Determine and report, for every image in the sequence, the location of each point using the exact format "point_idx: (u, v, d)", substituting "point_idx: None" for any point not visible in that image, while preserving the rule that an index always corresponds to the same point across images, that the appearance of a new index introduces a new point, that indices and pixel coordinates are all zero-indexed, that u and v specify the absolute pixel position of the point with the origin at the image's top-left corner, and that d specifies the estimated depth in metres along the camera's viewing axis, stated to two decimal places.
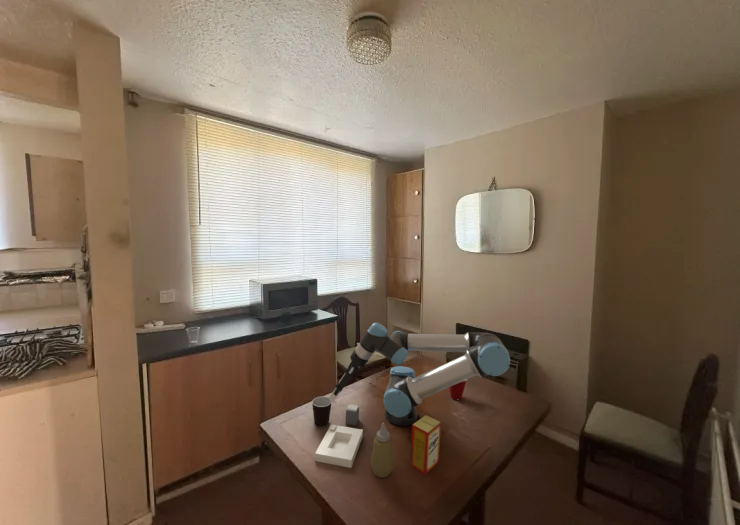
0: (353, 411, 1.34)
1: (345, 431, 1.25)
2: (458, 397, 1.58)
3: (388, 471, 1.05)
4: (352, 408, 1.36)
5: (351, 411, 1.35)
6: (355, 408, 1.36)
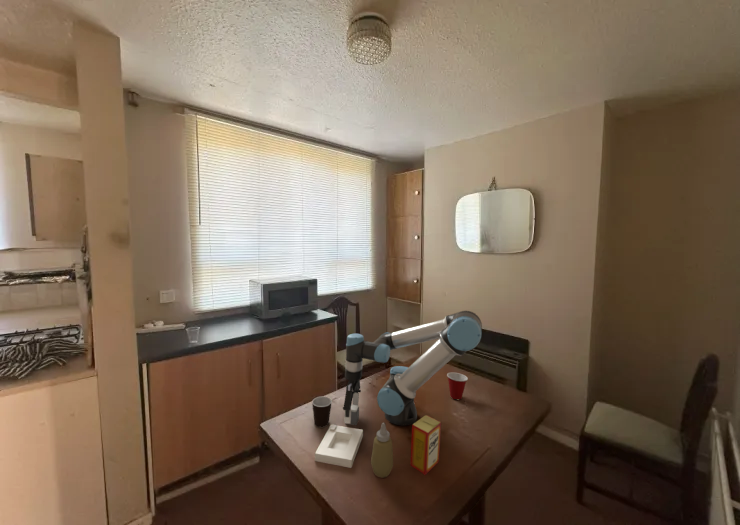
0: (353, 411, 1.34)
1: (345, 431, 1.25)
2: (458, 397, 1.58)
3: (388, 471, 1.05)
4: (352, 408, 1.36)
5: (351, 411, 1.35)
6: (355, 408, 1.36)
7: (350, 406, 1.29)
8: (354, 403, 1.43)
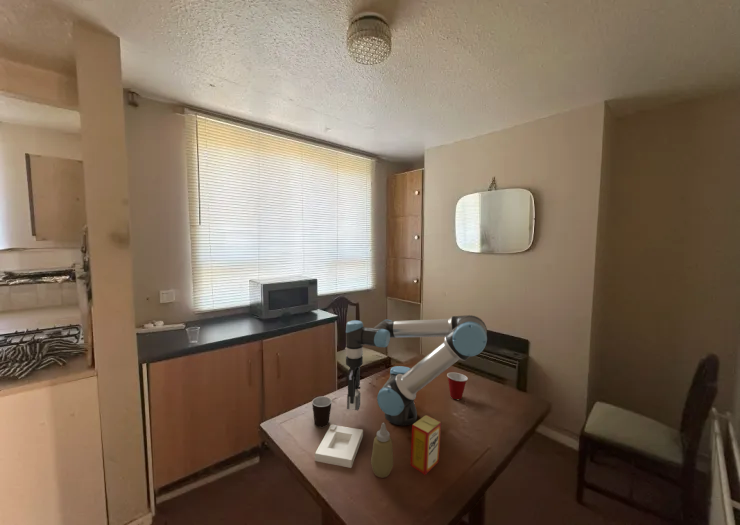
0: None
1: (345, 431, 1.25)
2: (458, 397, 1.58)
3: (388, 471, 1.05)
4: None
5: None
6: (356, 393, 1.35)
7: (354, 393, 1.32)
8: None
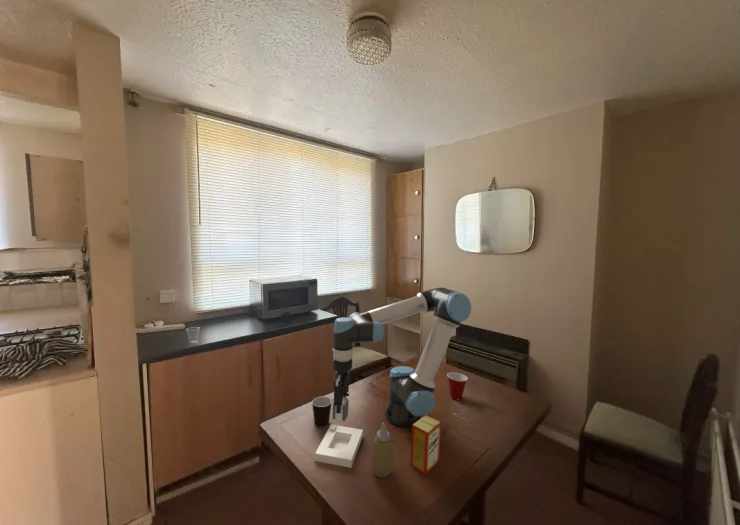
0: None
1: (345, 431, 1.25)
2: (458, 397, 1.58)
3: (388, 471, 1.05)
4: None
5: None
6: (344, 401, 1.17)
7: (341, 401, 1.14)
8: None
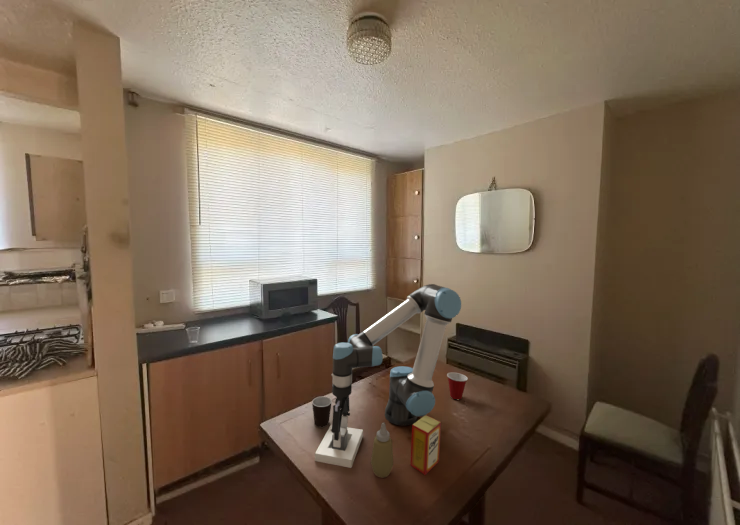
0: (341, 436, 1.17)
1: None
2: (458, 397, 1.58)
3: (388, 471, 1.05)
4: None
5: None
6: (343, 432, 1.18)
7: (339, 428, 1.13)
8: None
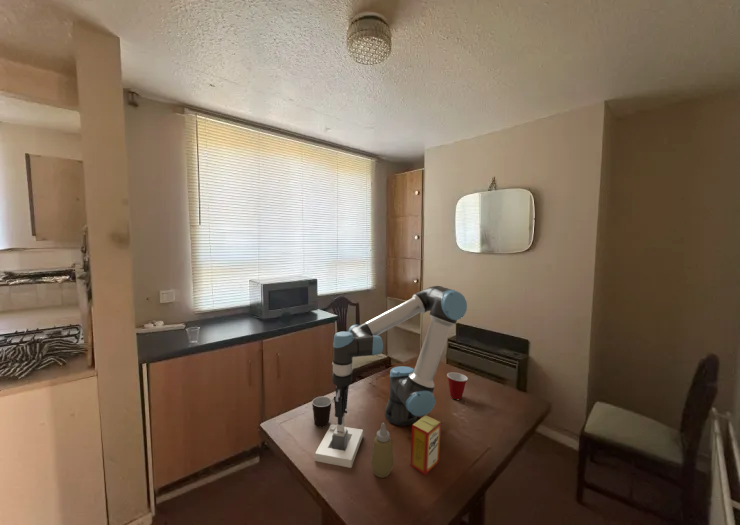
0: (341, 436, 1.17)
1: None
2: (458, 397, 1.58)
3: (388, 471, 1.05)
4: (340, 432, 1.18)
5: (339, 435, 1.17)
6: (343, 432, 1.18)
7: (342, 413, 1.17)
8: None
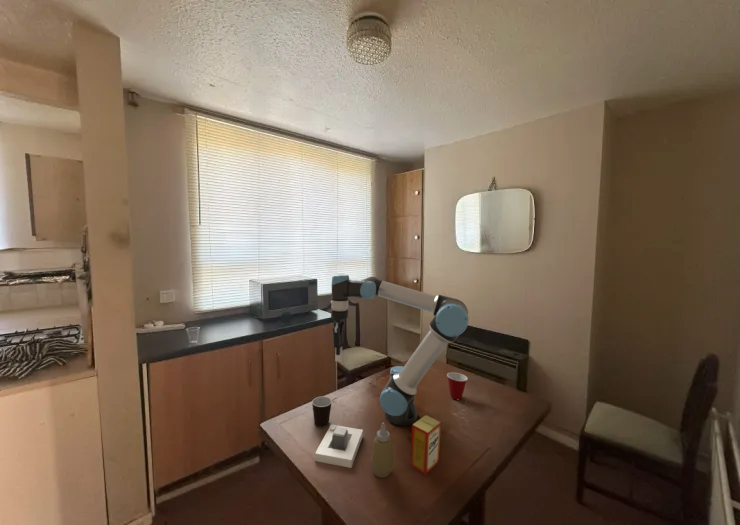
0: (341, 436, 1.17)
1: None
2: (458, 397, 1.58)
3: (388, 471, 1.05)
4: (340, 432, 1.18)
5: (339, 435, 1.17)
6: (343, 432, 1.18)
7: (340, 345, 1.34)
8: None
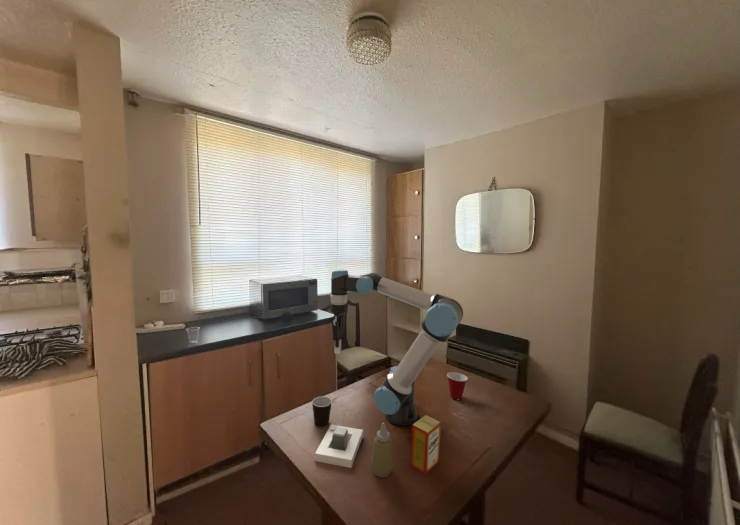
0: (341, 436, 1.17)
1: None
2: (458, 397, 1.58)
3: (388, 471, 1.05)
4: (340, 432, 1.18)
5: (339, 435, 1.17)
6: (343, 432, 1.18)
7: (339, 337, 1.38)
8: None
